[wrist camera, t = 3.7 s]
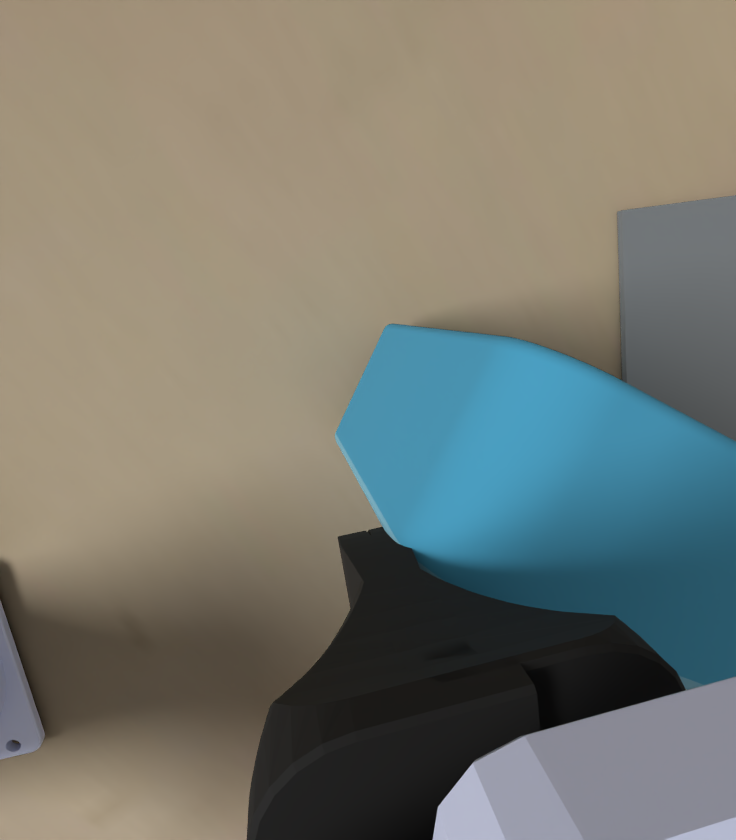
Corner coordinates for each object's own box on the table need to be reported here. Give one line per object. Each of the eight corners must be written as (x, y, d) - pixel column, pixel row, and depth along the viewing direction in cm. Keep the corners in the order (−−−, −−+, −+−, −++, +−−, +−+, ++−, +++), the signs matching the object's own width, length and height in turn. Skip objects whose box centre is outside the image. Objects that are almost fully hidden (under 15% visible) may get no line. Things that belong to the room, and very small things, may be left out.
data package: (629, 444, 23) (1012, 586, 11) (579, 538, 23) (897, 769, 11) (378, 319, 19) (544, 335, 8) (327, 430, 20) (412, 597, 8)
